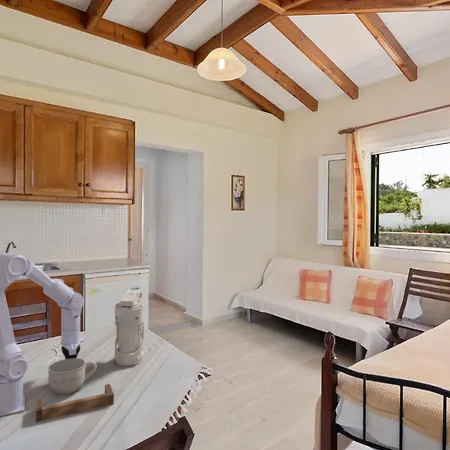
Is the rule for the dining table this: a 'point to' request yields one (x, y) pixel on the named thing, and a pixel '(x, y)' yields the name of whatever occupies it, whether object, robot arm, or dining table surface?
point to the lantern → (129, 329)
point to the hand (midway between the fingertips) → (70, 367)
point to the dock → (74, 405)
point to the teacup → (68, 374)
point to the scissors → (56, 355)
